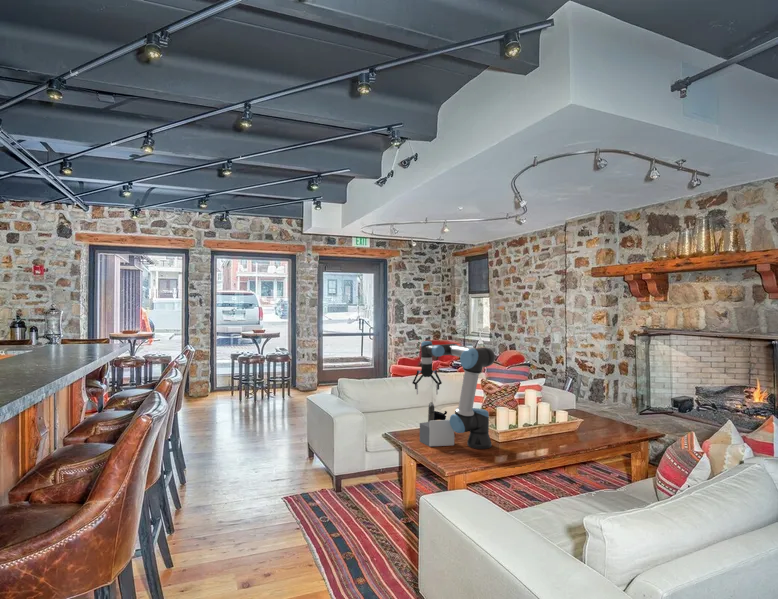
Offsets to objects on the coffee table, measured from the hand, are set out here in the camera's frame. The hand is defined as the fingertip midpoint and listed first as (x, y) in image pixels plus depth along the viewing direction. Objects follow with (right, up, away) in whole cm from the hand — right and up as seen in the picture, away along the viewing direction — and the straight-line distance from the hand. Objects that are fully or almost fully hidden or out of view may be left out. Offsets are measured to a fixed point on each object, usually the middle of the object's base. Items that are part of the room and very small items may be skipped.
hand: (427, 394), depth 322 cm
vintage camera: (+9, -28, +6) cm, 30 cm away
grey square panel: (+7, -27, -28) cm, 39 cm away
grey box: (+3, -27, -19) cm, 34 cm away
